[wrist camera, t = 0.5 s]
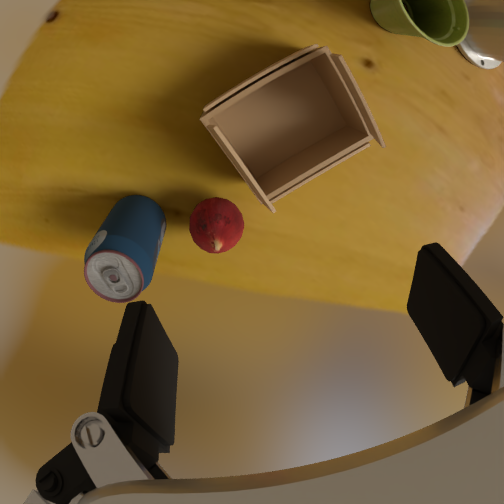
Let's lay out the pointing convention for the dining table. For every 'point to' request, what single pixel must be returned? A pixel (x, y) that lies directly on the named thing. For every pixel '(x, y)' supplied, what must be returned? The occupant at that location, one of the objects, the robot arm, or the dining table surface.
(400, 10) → the plant pot
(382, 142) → the flap
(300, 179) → the carton
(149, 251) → the soda can
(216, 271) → the dining table surface
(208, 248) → the onion
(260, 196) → the flap
